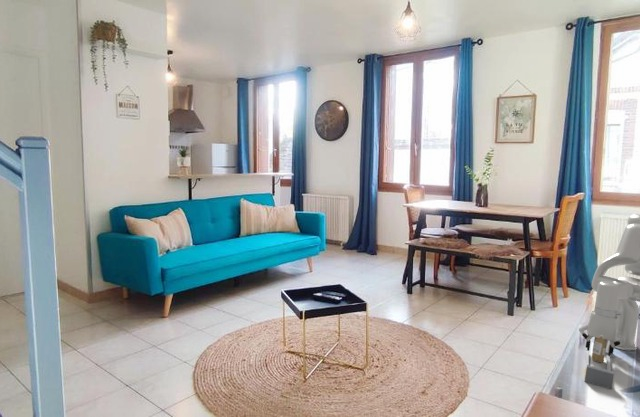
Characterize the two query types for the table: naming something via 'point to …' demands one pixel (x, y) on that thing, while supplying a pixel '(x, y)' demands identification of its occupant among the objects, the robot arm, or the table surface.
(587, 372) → the guide channel
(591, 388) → the table surface
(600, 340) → the sprinkles bottle
